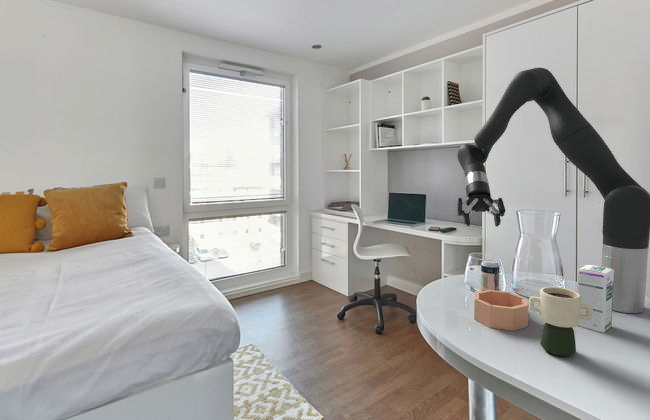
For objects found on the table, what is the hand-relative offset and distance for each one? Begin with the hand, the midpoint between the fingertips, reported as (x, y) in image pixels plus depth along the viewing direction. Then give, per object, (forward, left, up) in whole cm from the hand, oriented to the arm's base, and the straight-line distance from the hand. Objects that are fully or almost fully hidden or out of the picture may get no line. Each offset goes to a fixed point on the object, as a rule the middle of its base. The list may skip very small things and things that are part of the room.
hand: (482, 225), depth 108 cm
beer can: (+7, +10, -21) cm, 24 cm away
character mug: (+15, +36, -21) cm, 44 cm away
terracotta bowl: (+14, +20, -21) cm, 32 cm away
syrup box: (-3, +32, -21) cm, 38 cm away
